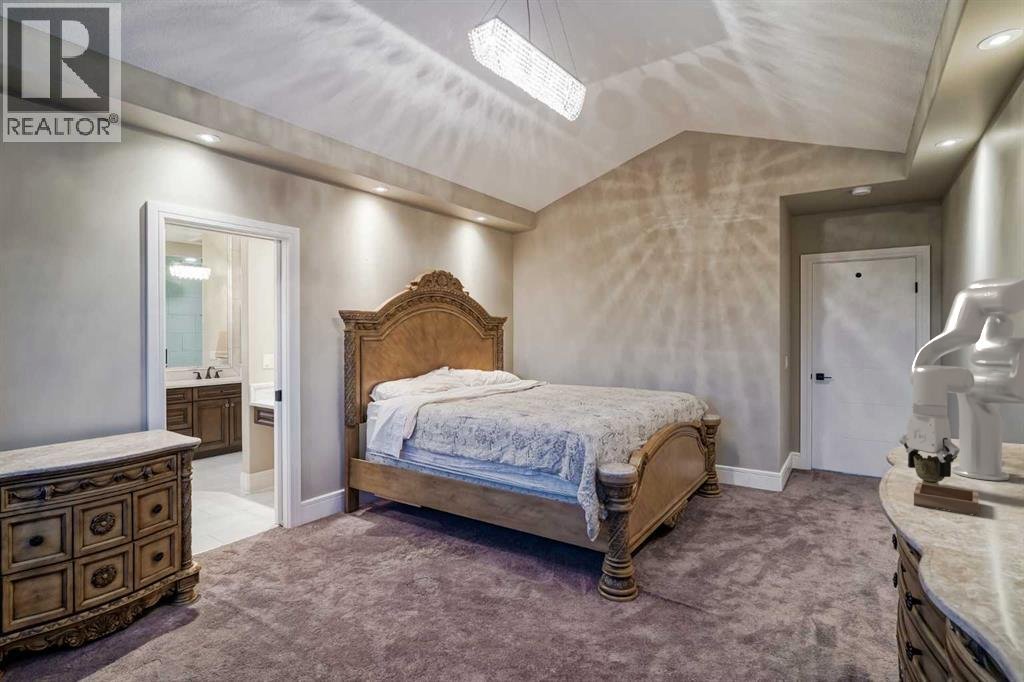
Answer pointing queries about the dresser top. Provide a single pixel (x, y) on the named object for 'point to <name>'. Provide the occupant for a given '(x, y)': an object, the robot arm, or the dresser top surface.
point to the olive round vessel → (927, 469)
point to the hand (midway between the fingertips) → (928, 471)
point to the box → (946, 498)
